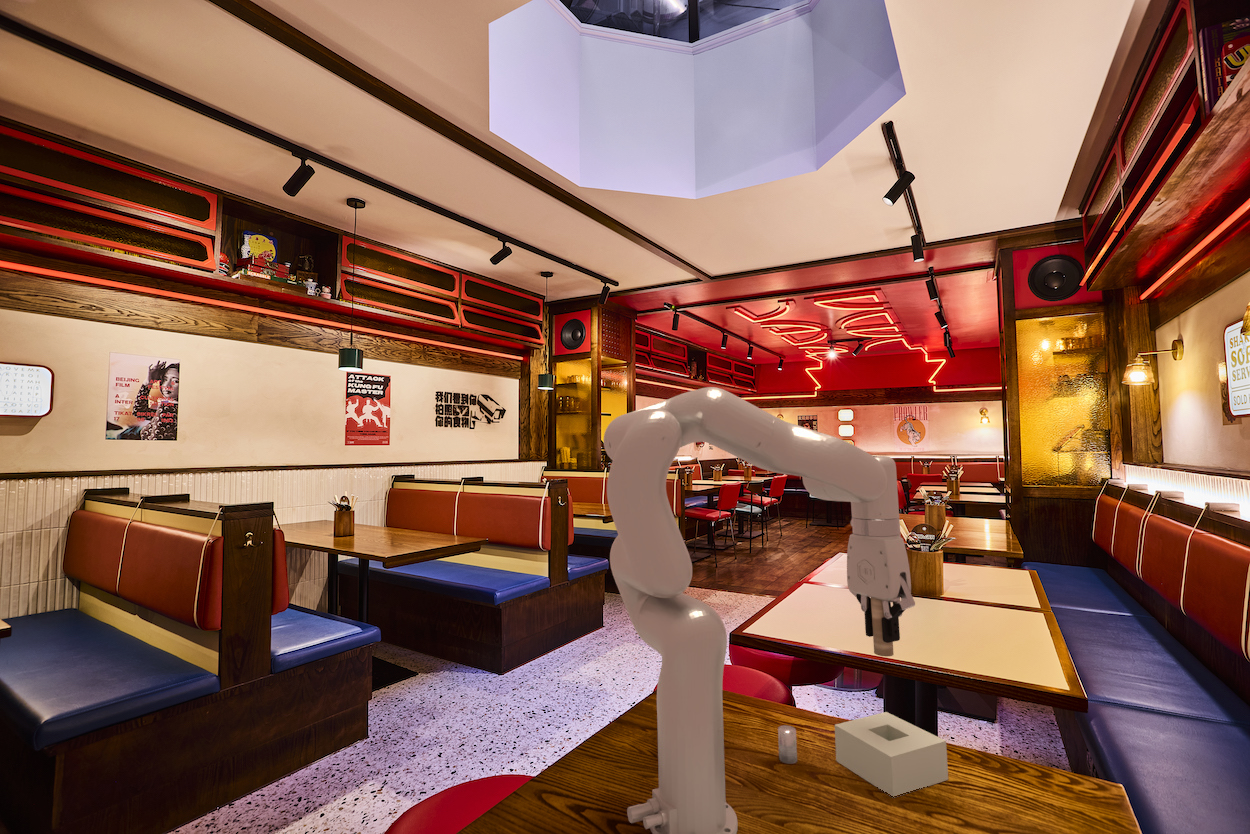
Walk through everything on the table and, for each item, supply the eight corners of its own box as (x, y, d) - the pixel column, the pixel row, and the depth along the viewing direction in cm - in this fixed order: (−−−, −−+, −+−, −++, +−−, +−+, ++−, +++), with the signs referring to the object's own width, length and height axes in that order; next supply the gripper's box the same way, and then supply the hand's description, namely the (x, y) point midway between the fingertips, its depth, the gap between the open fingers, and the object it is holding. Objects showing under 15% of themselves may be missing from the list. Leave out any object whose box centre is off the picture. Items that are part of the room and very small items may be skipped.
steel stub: (786, 765, 98) (785, 734, 98) (775, 757, 100) (774, 727, 101) (800, 761, 99) (799, 731, 99) (789, 753, 102) (788, 724, 102)
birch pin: (884, 657, 95) (879, 583, 96) (870, 652, 98) (865, 580, 99) (897, 654, 96) (892, 581, 97) (883, 649, 99) (878, 578, 100)
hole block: (893, 797, 88) (891, 756, 88) (836, 760, 99) (834, 724, 99) (948, 779, 92) (946, 740, 93) (888, 746, 103) (886, 711, 104)
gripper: (825, 525, 105) (830, 628, 103) (899, 535, 90) (906, 656, 88) (856, 522, 108) (862, 623, 106) (933, 531, 93) (941, 648, 91)
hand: (882, 637), depth 97 cm, fingers closed on birch pin, 3 cm apart
